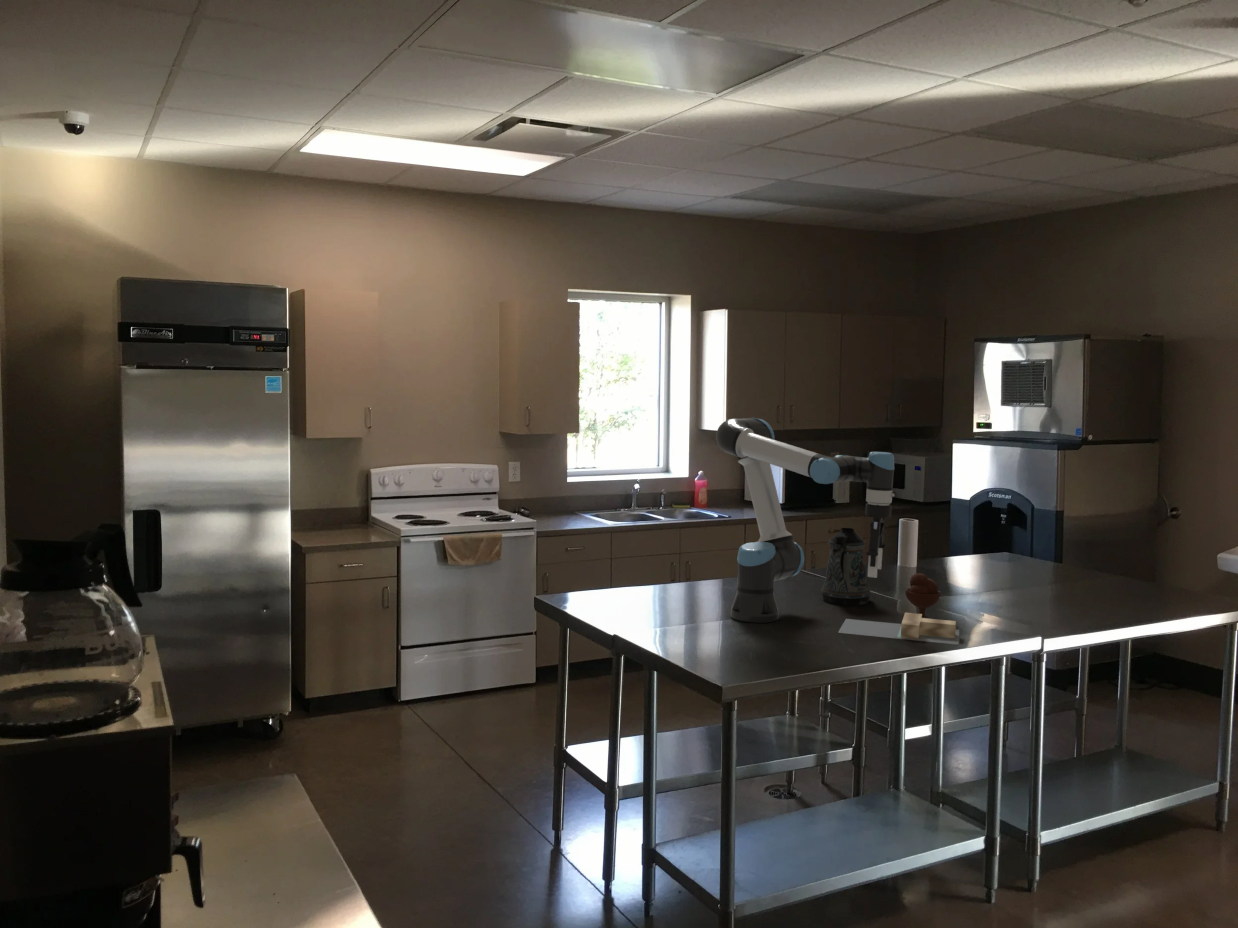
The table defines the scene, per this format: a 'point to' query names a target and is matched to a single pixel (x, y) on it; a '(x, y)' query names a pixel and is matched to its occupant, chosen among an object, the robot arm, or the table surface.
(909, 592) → the ice cream bowl
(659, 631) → the table surface
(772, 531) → the robot arm
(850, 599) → the beer stein
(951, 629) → the t block
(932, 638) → the push board
